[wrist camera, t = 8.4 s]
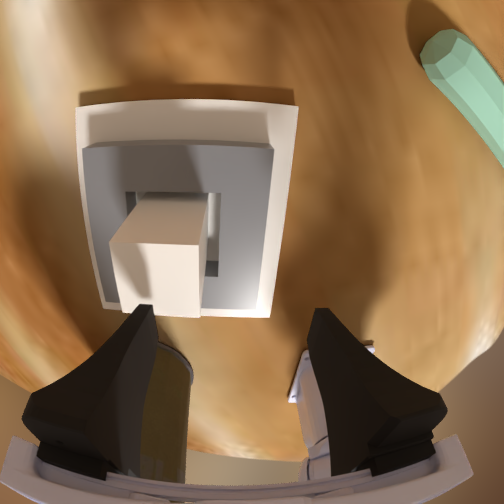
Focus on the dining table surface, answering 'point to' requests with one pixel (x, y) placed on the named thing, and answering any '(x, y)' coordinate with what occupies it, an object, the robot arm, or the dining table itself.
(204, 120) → the plate
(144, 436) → the canister
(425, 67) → the container
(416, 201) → the dining table surface
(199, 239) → the block
